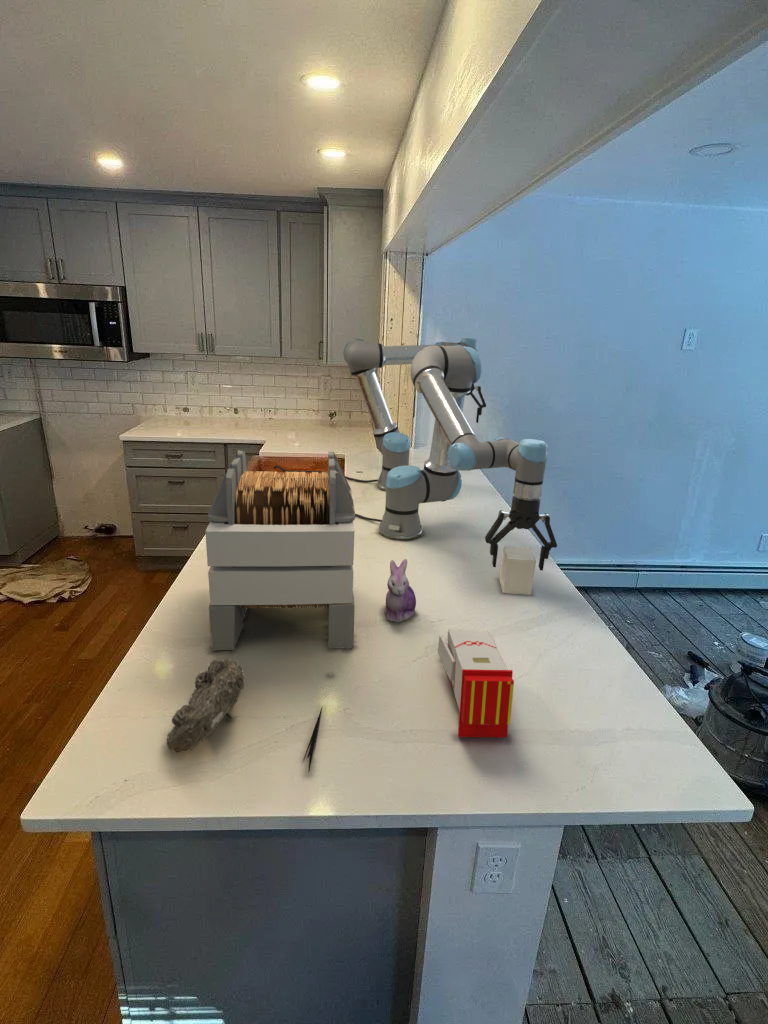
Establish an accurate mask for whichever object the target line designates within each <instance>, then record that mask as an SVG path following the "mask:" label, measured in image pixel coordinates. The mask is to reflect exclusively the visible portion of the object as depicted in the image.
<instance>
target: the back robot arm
mask: <svg viewBox="0 0 768 1024" xmlns="http://www.w3.org/2000/svg"><path fill="white" fill-rule="evenodd" d="M428 346H465V347H471V348H473V349H475V350H476V351H477V352H478V350H479V349H478V346H479V343H478V339H477V338H472V337H462V338H461V339H460V341H459V342H450V341H449V342H448V341H437V342H435V343H434V344H416V345H415V344H413V345H411V344H410V345H384V344H383V343H374V342H368V341H365V340H364V339H361V338H354V339H351V340H350V341H348V342H347V343H346V344H345V346H344V348H343V353H342V354H343V359H344V361H345V363H346V364H347V367H348V369H349V372H350V375H351V376H352V377H353V378H355V379H356V381H357V384H358V386H359V390H360V392H361V395H362V397H363V401H364V403H365V406H366V408H367V411H368V413H369V417H370V419H371V423H372V425H373V431H372V435H373V438H374V440H375V446H376V448H377V450H378V451H379V453H380V454H381V456H382V459H381V463H382V464H381V470H380V473H379V476H378V478H377V479H369V480H364V479H358V478H352V477H349V476H346V475H345V477H346V479H347V480H350V481H353V482H359V483H366V484H368V483H374V482H375V483H376V486H377V488H378V489H379V490H381V491H383V492H386V480H387V474H388V472H389V471H390V470H391V469H393V468H395V467H399V466H406V465H407V466H410V451H411V450H410V448H411V438H410V436H408V435H407V434H405V433H402V432H400V429H399V426H398V423H396V422H394V421H393V420H392V417H391V414H390V411H389V408H388V405H387V402H386V399H385V396H384V394H383V391H382V388H381V384H380V382H379V379H378V376H377V374H376V369H383V368H384V366H397V365H398V366H400V365H401V366H402V365H403V366H404V365H411V364H412V361H413V359H414V357H415V356H416V355H417V353H418V352H419V351H421V350H422V349H424V348H426V347H428ZM474 390H475V391H476V392H477V393H478V396H479V398H480V401H481V402H480V401H479V400H478V398H477V397H476V396H475V394H474V393H473V392H474ZM466 396H467V397H468V396H470V397H471V398H472V399H473V401H474V402H475V404H476V405H477V406H478V407H477V409H476V419H475V422H476V424H479V421H480V420H479V418H480V416H482V413H483V409H484V408H486V407H487V404H486V400H485V399H484V396H483V393H482V386H481V385H475V384H472V386H471V391H470V392H469V393H468V394H466V395H465V397H466ZM481 403H482V404H481ZM277 468H278V469H279V470H281V472H283V473H284V472H306V473H307V474H308V473H309V474H310V473H312V472H318V473H319V474H322V472H325V471H324V470H323V471H322V470H292V469H291V470H290V469H284V468H283V467H281V466H280V465H275V466H273V467H272V470H273V469H277Z"/></svg>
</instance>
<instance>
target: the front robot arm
mask: <svg viewBox="0 0 768 1024" xmlns="http://www.w3.org/2000/svg"><path fill="white" fill-rule="evenodd" d="M482 370H483V365H482V359H481V357H480V354H479V352H478V350H477V351H476V350H475V349H473V348H471V347H465V346H428V347H426V348H424V349H422V350H421V351H419V352H418V353H417V355H416V356H415V357H414V359H413V361H412V364H410V381H411V382H412V385H413V387H414V388H415V390H416V392H418V393H419V394H421V395H422V397H423V398H424V400H425V402H426V404H427V406H428V408H429V409H430V411H431V413H432V415H433V417H434V426H433V431H432V438H431V445H430V451H429V458H428V459H426V460H425V461H424V462H423V463H424V464H423V469H421V467H419V466H416V465H409V466H407V465H406V466H399V467H395V468H393V469H391V470H390V471H389V472H388V474H387V480H386V491H385V504H384V505H385V507H384V508H385V509H384V513H383V515H382V519H381V518H380V519H379V518H374V517H367V516H364V515H361V514H359V513H358V514H357V513H355V517H357V518H360V519H362V520H366V521H371V522H378V523H379V526H378V533H379V534H380V535H381V536H382V537H385V538H387V539H389V540H395V541H410V540H415V539H418V538H420V537H421V536H422V535H423V525H422V524H421V518H420V515H419V507H420V506H419V505H420V504H427V503H437V502H438V503H439V502H447V501H452V500H454V499H455V498H457V496H459V494H460V492H461V489H462V484H463V480H462V473H461V472H462V471H467V472H469V471H473V470H475V471H476V470H484V469H500V468H507V469H510V470H513V471H515V477H514V484H513V490H512V493H513V495H512V497H511V498H512V499H511V507H510V511H509V512H506V511H504V510H502V509H500V510H499V511H498V513H497V518H496V519H495V521H494V522H493V524H492V526H491V527H490V529H489V530H488V531H487V533H486V534H485V536H484V541H485V543H486V544H489V545H490V547H489V555H490V556H492V560H491V561H492V562H491V564H492V567H493V568H496V567H497V561H498V552H499V544H498V543H499V542H501V540H503V539H504V538H505V537H506V536H507V535H508V534H509V533H510V532H511V531H514V530H515V528H516V529H517V530H522V529H523V530H530V529H532V531H533V532H534V533H535V535H536V537H537V538H538V539H539V540H540V542H541V543H542V544H543V545H541V547H540V552H539V553H540V554H539V559H538V566H537V567H538V569H539V571H541V572H542V571H544V566H545V561H546V560H548V559H549V556H550V551H551V550H552V548H555V549H556V548H557V547H558V543H557V540H556V537H555V535H554V532H553V529H552V526H551V517H550V515H549V514H548V513H547V512H545V513H543V514H540V506H541V499H540V498H542V492H543V485H544V478H545V473H546V464H547V460H548V449H549V448H548V443H546V442H545V441H543V440H540V439H536V438H535V439H534V438H525V439H522V440H520V441H515V440H513V439H511V438H509V437H503V436H499V437H496V438H495V439H493V440H491V441H489V440H488V441H479V439H478V438H477V436H476V434H475V433H474V431H473V429H472V428H471V426H470V424H469V422H468V420H467V419H466V417H465V415H464V413H463V410H464V404H465V398H466V394H468V393H469V392H470V391H471V386H472V384H474V385H475V384H476V383H478V382H479V380H481V376H482V372H483V371H482ZM508 518H509V521H508V522H507V523H506V525H505V526H503V527H502V528H501V525H502V524H503V522H504V521H505V520H506V519H508ZM540 520H541V522H542V523H543V524H544V528H545V530H546V533H547V535H548V538H549V542H548V540H547V538H546V537H545V536H544V534H543V533H542V531H541V530H540V529H539V527H538V526H537V525H536V524H537V523H538V522H539V521H540ZM500 528H501V530H500V531H498V530H499V529H500Z"/></svg>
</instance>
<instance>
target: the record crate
mask: <svg viewBox="0 0 768 1024" xmlns="http://www.w3.org/2000/svg"><path fill="white" fill-rule="evenodd" d="M327 456H328V457H327V462H328V463H327V471H324V472H322V473H318V472H312V473H306V472H284V471H281V472H278V471H271V470H269V471H267V470H265V471H262V470H261V471H259V470H258V471H257V470H256V471H253V470H247V458H246V450H240V449H238V450H237V452H236V454H235V456H234V457H233V459H232V462H231V464H230V466H229V468H227V470H226V472H225V474H224V477H223V479H222V480H221V483H220V486H219V487H218V490H217V491H216V495H215V496H214V499H213V501H212V503H211V504H210V505H211V506H210V508H209V510H208V513H207V517H208V522H209V523H208V525H207V527H206V529H205V533H204V534H205V548H206V558H207V559H206V563H207V567H209V569H208V571H207V574H208V575H207V577H208V589H209V604H208V615H209V630H210V634H211V647H210V649H211V651H212V652H214V651H215V652H218V651H234V649H235V647H236V645H237V643H238V641H239V638H240V635H241V633H242V630H243V619H245V618H246V614H247V609H249V610H250V609H273V608H274V609H276V608H277V609H280V608H281V609H293V608H294V609H296V608H298V609H302V608H309V609H310V608H315V609H316V608H327V637H328V638H327V639H328V640H327V641H328V649H349V650H350V649H352V648H353V647H354V646H355V645H354V643H355V607H356V606H355V597H354V559H355V558H354V555H355V526H354V525H355V524H354V522H355V520H356V516H355V514H356V511H355V505H354V499H353V493H352V487H351V486H350V484H349V481H348V479H346V477H347V476H346V475H345V473H344V471H343V469H342V467H341V464H340V462H339V459H338V458H337V455H336V453H335V452H334V451H330V450H329V451H327ZM345 476H346V477H345Z"/></svg>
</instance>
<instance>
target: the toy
mask: <svg viewBox="0 0 768 1024" xmlns="http://www.w3.org/2000/svg"><path fill="white" fill-rule="evenodd" d="M446 640H447V643H446V641H445V639H444V636H443V635H442V634H439V637H438V646H437V656H438V657H439V659H440V661H441V663H442V666H443V668H444V670H445V672H446V674H447V677H448V679H449V681H450V684H451V687H452V690H453V693H454V697H455V701H456V705H457V708H458V711H459V714H458V715H459V716H458V730H457V731H458V732H457V737H458V738H508V731H509V726H510V725H511V717H512V707H513V697H514V696H513V695H514V684H515V680H514V679H513V673H514V671H513V670H512V669H508V667H507V665H506V662H505V661H504V659H503V658H502V655H501V653H500V651H499V649H498V647H497V643H496V639H495V637H494V635H493V634H491V632H490V631H489V629H467V628H466V629H465V628H463V629H461V628H460V629H459V628H448V630H447V639H446Z"/></svg>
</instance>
